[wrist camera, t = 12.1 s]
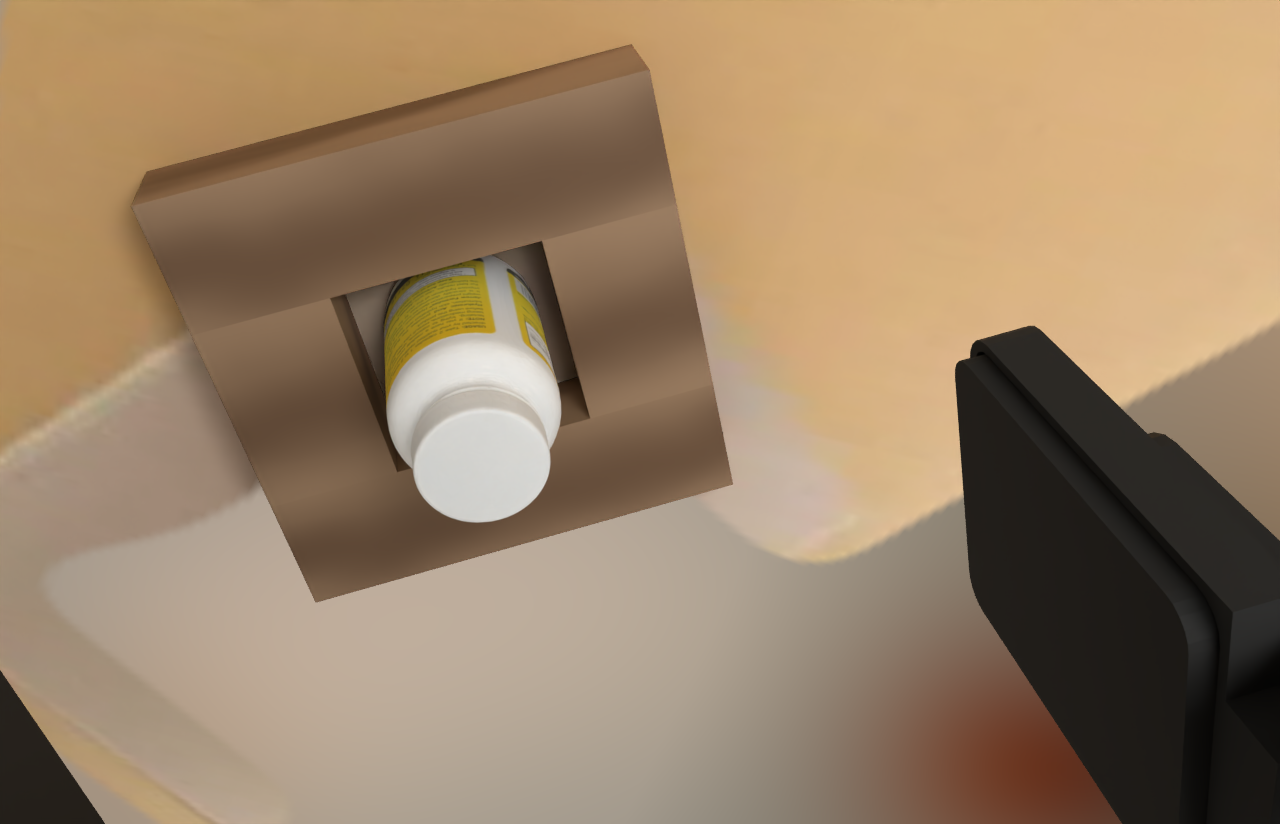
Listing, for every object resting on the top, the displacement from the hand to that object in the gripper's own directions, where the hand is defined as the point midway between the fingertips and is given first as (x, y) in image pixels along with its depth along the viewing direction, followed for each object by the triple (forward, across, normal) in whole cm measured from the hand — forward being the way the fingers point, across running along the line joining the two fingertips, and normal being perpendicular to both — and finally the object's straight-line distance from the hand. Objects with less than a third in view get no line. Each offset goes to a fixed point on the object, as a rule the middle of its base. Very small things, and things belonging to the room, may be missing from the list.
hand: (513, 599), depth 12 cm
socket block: (+30, +2, +12) cm, 33 cm away
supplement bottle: (+31, +2, +12) cm, 33 cm away
